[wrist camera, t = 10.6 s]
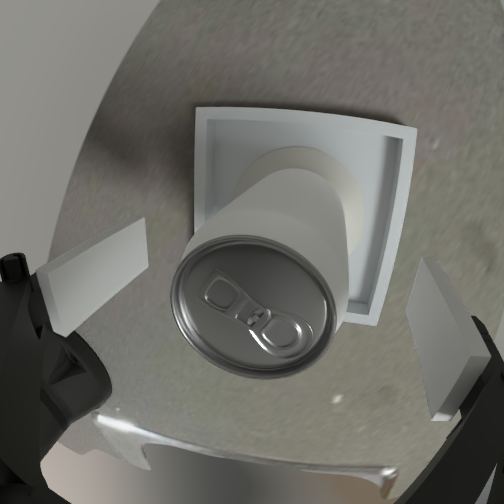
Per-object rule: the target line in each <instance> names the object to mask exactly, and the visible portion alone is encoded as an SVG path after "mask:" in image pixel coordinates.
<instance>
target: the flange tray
mask: <svg viewBox="0 0 504 504" xmlns="http://www.w3.org/2000/svg"><path fill="white" fill-rule="evenodd" d="M416 136H417V128H412V127H407V126H403V125H398V124H393V123H387V122H382V121H376V120H370V119H364V118H358V117H351V116H344V115H336V114H328V113H319V112H309V111H298V110H286V109H270V108H248V107H196V119H195V159H194V232H195V233H196V232H197V231H198V230H199V229H200V228H201V227H202V226H203V225H204V224H205V223H206V222H207V221H208V220H209V219H211V218H212V217H213V216H214V215H215V214H217V213H218V212H219V211H220V210H222V209H223V208H224V207H226V206H227V205H228V204H229V203H231V202H232V201H233V200H235V199H236V198H237V197H239V196H240V195H241V194H243V193H244V192H245V191H247V190H248V189H249V188H251V187H252V186H253V185H255V184H256V183H258V182H259V181H260V180H262V179H263V178H265V177H266V176H268V175H270V174H272V173H274V172H276V171H279V170H283V169H290V168H298V169H304V170H308V171H311V172H314V173H316V174H318V175H320V176H321V177H323V178H324V179H325V180H327V181H328V182H329V183H330V184H331V185H332V186H333V188H334V189H335V190H336V192H337V193H338V195H339V197H340V199H341V202H342V205H343V209H344V216H345V224H346V235H347V248H348V264H349V299H348V305H347V309H346V313H345V316H344V319H343V321H345V322H352V323H359V324H366V325H373V326H376V325H377V322H378V319H379V316H380V313H381V309H382V306H383V302H384V299H385V295H386V292H387V288H388V285H389V281H390V277H391V273H392V269H393V265H394V261H395V257H396V253H397V249H398V244H399V240H400V235H401V231H402V226H403V221H404V216H405V211H406V205H407V200H408V194H409V188H410V182H411V175H412V168H413V161H414V153H415V145H416Z"/></svg>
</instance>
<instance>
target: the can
mask: <svg viewBox="0 0 504 504" xmlns="http://www.w3.org/2000/svg"><path fill="white" fill-rule="evenodd" d="M348 299H349V264H348V248H347V235H346V224H345V216H344V209H343V205H342V202H341V199H340V197H339V195H338V193H337V192H336V190H335V189H334V188H333V186H332V185H331V184H330V183H329V182H328V181H327V180H325V179H324V178H323V177H321V176H320V175H318V174H316V173H314V172H311V171H308V170H304V169H298V168H290V169H283V170H279V171H276V172H274V173H272V174H270V175H268V176H266V177H265V178H263V179H262V180H260V181H259V182H258V183H256V184H255V185H253V186H252V187H251V188H249V189H248V190H247V191H245V192H244V193H243V194H241V195H240V196H239V197H237V198H236V199H235V200H233V201H232V202H231V203H229V204H228V205H227V206H226V207H224V208H223V209H222V210H220V211H219V212H218V213H217V214H215V215H214V216H213V217H212V218H211V219H209V220H208V221H207V222H206V223H205V224H204V225H203V226H202V227H201V228H200V229H199V230H198V231H197V232H196V233H195V234H194V236H193V237H192V238H191V240H190V241H189V243H188V244H187V246H186V248H185V251H184V253H183V256H182V259H181V263H180V264H179V266H178V268H177V269H176V272H175V274H174V277H173V280H172V284H171V292H170V300H171V308H172V312H173V316H174V319H175V321H176V323H177V326H178V328H179V330H180V331H181V333H182V335H183V336H184V338H185V339H186V340H187V342H188V343H189V344H190V345H191V346H192V347H193V349H194V350H195V351H197V352H198V353H199V354H200V355H201V356H202V357H203V358H205V359H206V360H207V361H209V362H210V363H212V364H214V365H215V366H217V367H219V368H221V369H223V370H225V371H227V372H230V373H232V374H235V375H238V376H242V377H246V378H252V379H261V380H271V379H280V378H286V377H290V376H293V375H296V374H298V373H301V372H303V371H305V370H306V369H308V368H310V367H311V366H313V365H314V364H315V363H316V362H317V361H319V360H320V359H321V358H322V356H323V355H324V354H325V353H326V351H327V350H328V348H329V347H330V345H331V343H332V340H333V338H334V335H335V333H336V331H337V330H338V328H339V327H340V325H341V323H342V321H343V319H344V316H345V313H346V309H347V305H348Z"/></svg>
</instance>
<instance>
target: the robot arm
mask: <svg viewBox="0 0 504 504" xmlns="http://www.w3.org/2000/svg"><path fill="white" fill-rule="evenodd" d="M148 267H149V266H148V255H147V243H146V230H145V217H141V216H131V217H129V218H127V219H125V220H123V221H121V222H119V223H117V224H115V225H113V226H111V227H110V228H108V229H106V230H104V231H102V232H100V233H99V234H97V235H95V236H93V237H91V238H89V239H88V240H86V241H84V242H82V243H81V244H79V245H77V246H75V247H74V248H72V249H70V250H68V251H67V252H65V253H63V254H61V255H60V256H58V257H56V258H55V259H53V260H51V261H50V262H48V263H46V264H45V265H43V266H41V267H40V268H38V269H37V270H36V272H35V273H34V274H32V275H31V276H30V274H29V270H28V266H27V262H26V257H25V255H24V254H23V253H12V254H9V255H6V256H4V257H2V258H1V259H0V275H1V278H2V282H0V504H71V503H70V502H68V501H67V500H65V499H63V498H62V497H61V496H59V495H58V494H56V493H55V492H54V491H52V490H50V489H49V488H48V485H47V483H46V481H45V479H44V477H43V475H42V472H41V468H40V462H41V460H42V459H43V458H44V456H45V455H46V454H47V453H48V452H49V450H50V449H51V448H52V447H53V445H54V444H55V443H56V442H57V440H58V439H59V438H60V437H61V435H62V434H63V433H64V432H65V430H66V429H67V428H68V427H69V426H70V425H71V424H72V423H73V422H75V421H77V420H78V419H80V418H82V417H83V416H85V415H87V414H88V413H90V412H91V411H93V410H95V409H98V408H100V407H101V406H102V405H103V404H104V403H105V402H106V401H107V399H108V398H109V397H110V395H111V393H112V385H111V381H110V378H109V376H108V374H107V372H106V370H105V368H104V366H103V365H102V363H101V362H100V360H99V359H98V357H97V356H96V355H95V353H94V352H93V351H92V350H91V348H90V347H89V346H88V345H87V344H86V343H85V342H84V341H83V340H82V339H81V338H80V337H79V336H78V335H77V334H76V333H75V332H74V330H75V329H76V328H77V327H78V326H79V325H80V324H82V323H83V322H84V321H85V320H86V319H87V318H88V317H89V316H91V315H92V314H93V313H94V312H95V311H96V310H98V309H99V308H100V307H101V306H102V305H103V304H105V303H106V302H107V301H108V300H109V299H110V298H112V297H113V296H114V295H115V294H116V293H117V292H119V291H120V290H121V289H122V288H123V287H125V286H126V285H127V284H128V283H129V282H131V281H132V280H133V279H134V278H135V277H137V276H138V275H139V274H140V273H141V272H143V271H144V270H145V269H146V268H148ZM405 311H406V314H407V317H408V321H409V324H410V328H411V332H412V336H413V339H414V343H415V347H416V351H417V355H418V359H419V363H420V368H421V372H422V377H423V381H424V386H425V391H426V396H427V401H428V407H429V412H430V418H431V421H451V420H452V418H453V417H454V415H455V414H456V413H457V411H458V410H459V409H460V413H461V417H462V418H461V420H460V421H459V422H458V424H457V425H456V426H455V428H454V429H453V430H452V431H451V433H450V434H449V435H448V436H447V440H446V441H445V442H444V444H443V445H442V447H441V448H440V449H439V451H438V452H437V453H436V455H435V456H434V457H433V459H432V460H431V461H430V462H429V464H428V465H427V466H426V468H425V469H424V470H423V471H422V472H421V474H420V475H419V476H418V477H417V478H416V480H415V481H414V482H413V483H412V484H411V485H410V487H409V488H408V489H407V490H406V491H405V492H404V493H403V494H402V495H401V497H400V498H399V499H398V500H397V501H396V502H395V503H394V504H475V502H476V501H477V498H478V497H479V496H480V494H481V492H482V490H483V488H484V487H485V485H486V483H487V481H488V479H489V477H490V476H491V474H492V472H493V470H494V468H495V466H496V464H497V466H496V471H495V475H494V479H493V483H492V486H491V490H490V494H489V497H488V501H487V504H504V361H503V359H502V358H501V356H500V353H499V351H498V350H497V348H496V346H495V344H494V342H492V341H493V340H492V338H491V336H490V335H489V333H488V331H487V329H486V327H485V325H484V324H483V323H482V322H481V321H480V320H479V319H478V318H477V317H476V316H470V314H469V312H468V311H467V309H466V307H465V305H464V303H463V302H462V300H461V298H460V297H459V295H458V293H457V291H456V290H455V288H454V286H453V285H452V283H451V282H450V280H449V278H448V277H447V275H446V273H445V272H444V270H443V269H442V267H441V266H440V264H439V263H438V261H437V259H434V258H428V257H422V256H421V259H420V262H419V266H418V270H417V273H416V277H415V280H414V284H413V287H412V290H411V293H410V297H409V300H408V303H407V306H406V309H405Z"/></svg>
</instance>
